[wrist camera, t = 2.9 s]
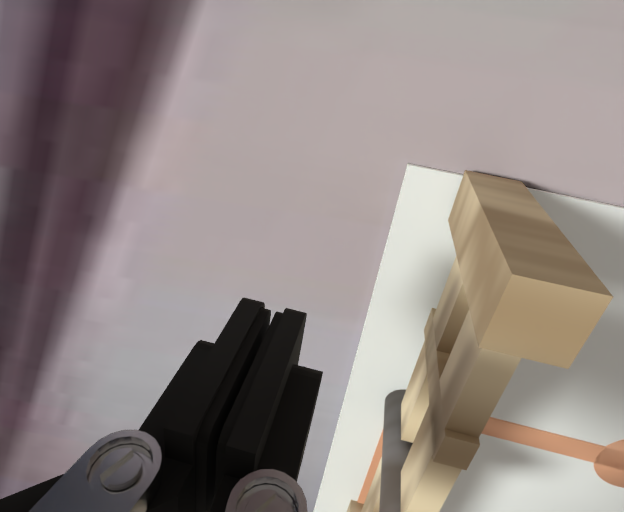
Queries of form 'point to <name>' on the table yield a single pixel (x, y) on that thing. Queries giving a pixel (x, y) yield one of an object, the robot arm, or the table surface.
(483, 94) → the table surface
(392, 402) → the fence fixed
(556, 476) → the card
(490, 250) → the fence gate
